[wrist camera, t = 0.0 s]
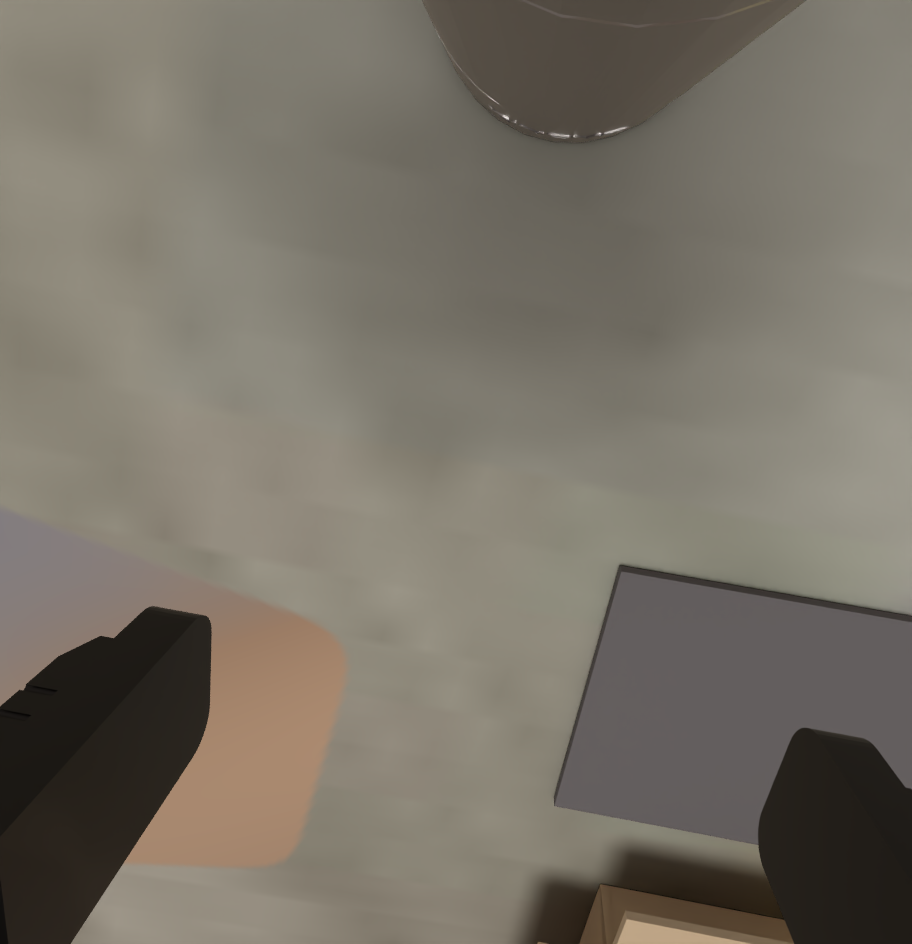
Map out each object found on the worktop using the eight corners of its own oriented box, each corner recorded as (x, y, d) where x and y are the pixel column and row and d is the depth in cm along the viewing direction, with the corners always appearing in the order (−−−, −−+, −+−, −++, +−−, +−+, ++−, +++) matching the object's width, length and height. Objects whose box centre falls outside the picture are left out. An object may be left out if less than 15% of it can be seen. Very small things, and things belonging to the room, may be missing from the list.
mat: (619, 565, 27) (621, 571, 26) (1050, 640, 26) (1060, 648, 26) (553, 797, 32) (554, 806, 32) (908, 865, 32) (914, 874, 31)
